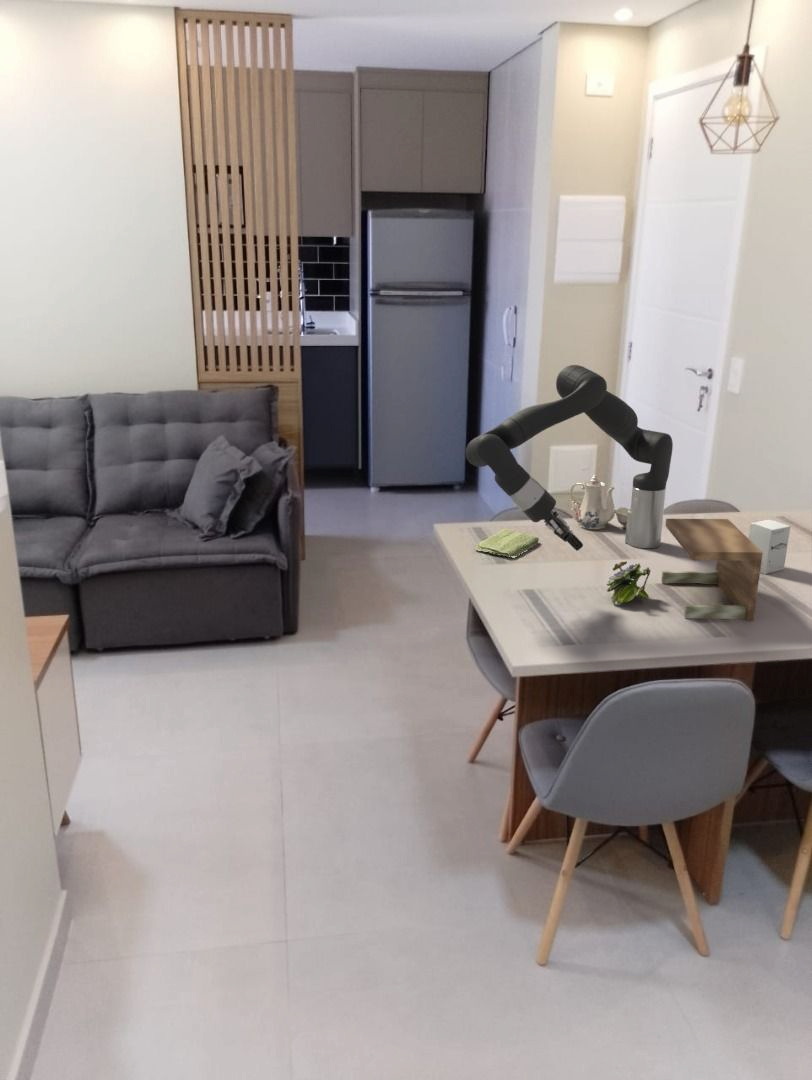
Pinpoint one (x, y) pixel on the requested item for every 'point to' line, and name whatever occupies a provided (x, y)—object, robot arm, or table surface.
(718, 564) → the shelf
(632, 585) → the passion flower
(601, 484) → the chinaware
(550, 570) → the table surface
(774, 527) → the supplement box
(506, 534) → the washcloth
